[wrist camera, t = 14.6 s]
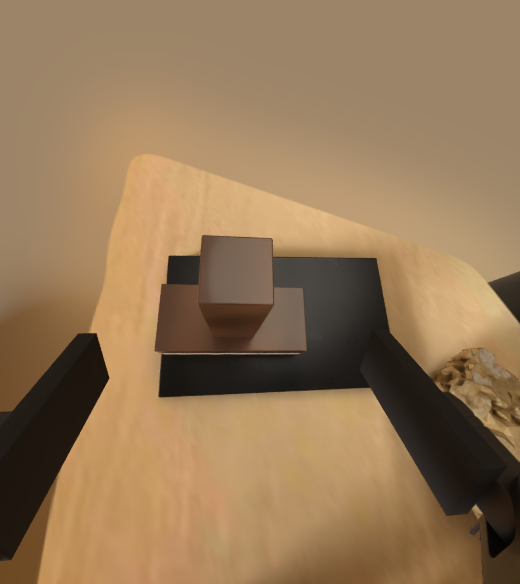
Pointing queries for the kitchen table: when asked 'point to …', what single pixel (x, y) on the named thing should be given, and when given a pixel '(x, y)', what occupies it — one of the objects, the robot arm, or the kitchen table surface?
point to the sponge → (485, 395)
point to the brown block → (232, 304)
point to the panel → (319, 332)
